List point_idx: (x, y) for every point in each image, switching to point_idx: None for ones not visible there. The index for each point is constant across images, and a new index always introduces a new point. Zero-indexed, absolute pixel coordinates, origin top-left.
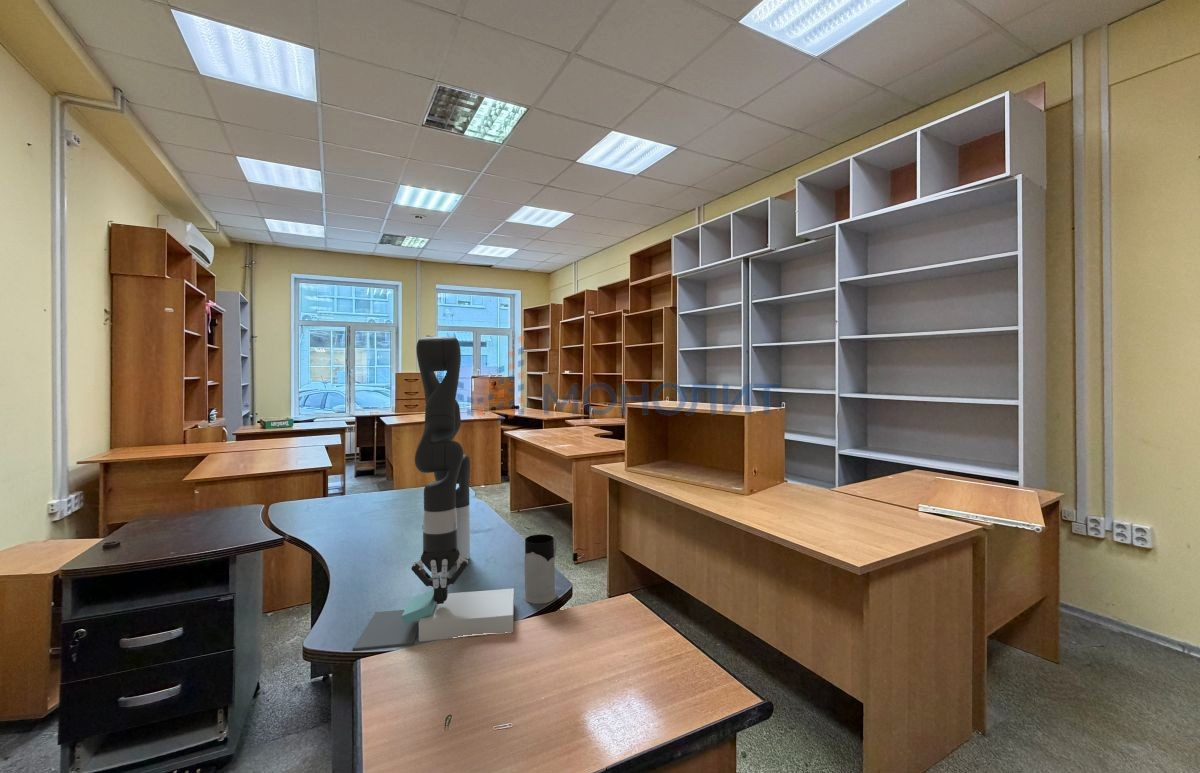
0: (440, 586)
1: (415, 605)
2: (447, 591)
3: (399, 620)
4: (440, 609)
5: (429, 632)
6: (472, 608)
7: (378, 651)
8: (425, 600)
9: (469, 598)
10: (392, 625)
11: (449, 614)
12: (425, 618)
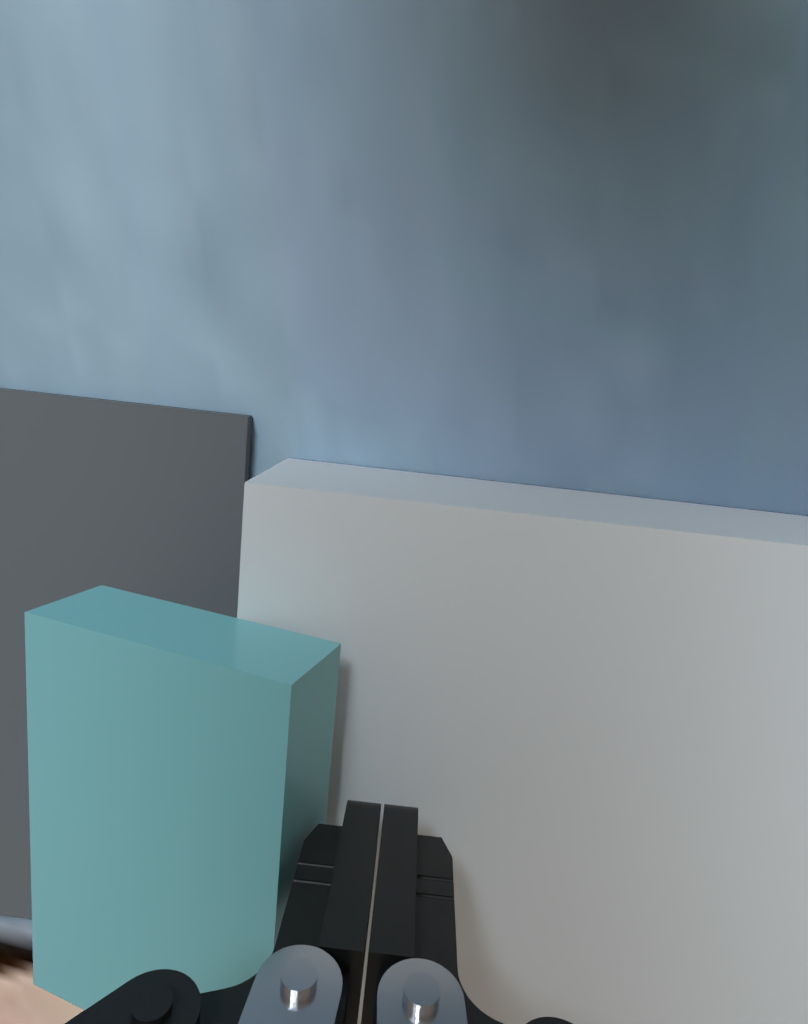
0: (355, 1009)
1: (117, 906)
2: (453, 916)
3: (46, 592)
4: None
5: None
6: (690, 932)
7: (19, 942)
8: (204, 911)
9: (683, 707)
10: (11, 661)
11: (470, 974)
12: None
